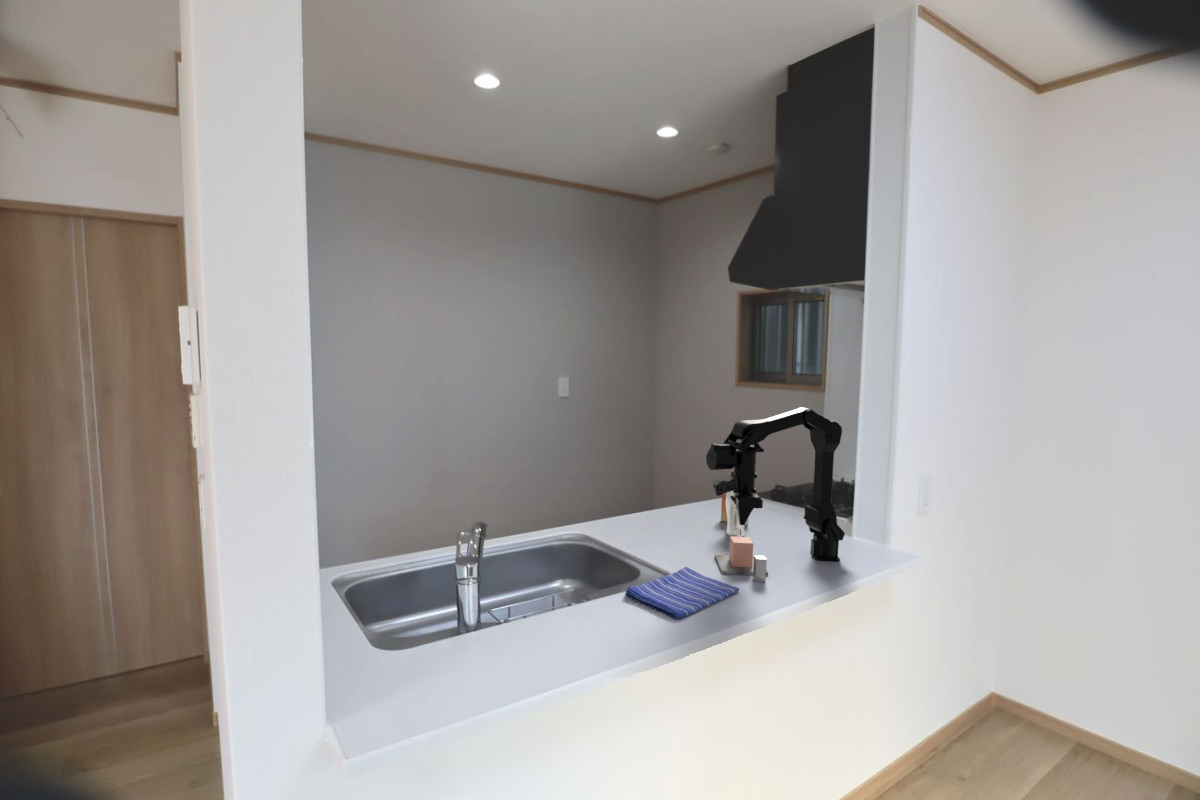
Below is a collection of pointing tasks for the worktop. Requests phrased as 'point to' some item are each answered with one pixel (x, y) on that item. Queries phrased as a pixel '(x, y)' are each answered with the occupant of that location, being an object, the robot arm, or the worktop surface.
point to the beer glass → (733, 518)
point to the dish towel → (681, 593)
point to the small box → (723, 510)
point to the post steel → (759, 568)
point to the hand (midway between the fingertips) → (741, 524)
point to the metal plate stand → (729, 569)
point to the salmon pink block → (741, 551)
